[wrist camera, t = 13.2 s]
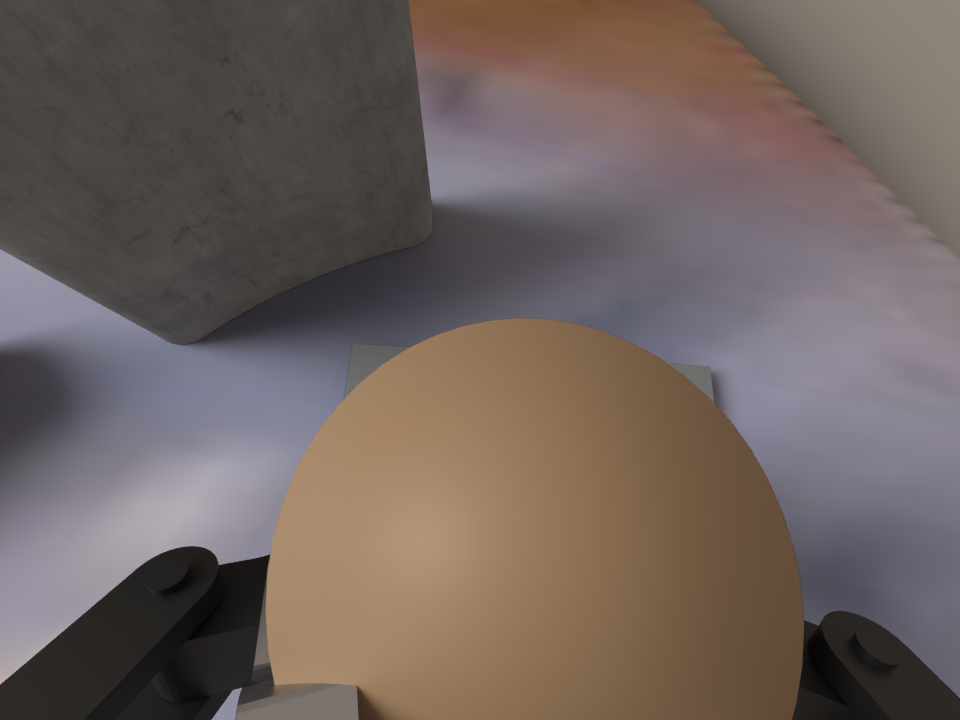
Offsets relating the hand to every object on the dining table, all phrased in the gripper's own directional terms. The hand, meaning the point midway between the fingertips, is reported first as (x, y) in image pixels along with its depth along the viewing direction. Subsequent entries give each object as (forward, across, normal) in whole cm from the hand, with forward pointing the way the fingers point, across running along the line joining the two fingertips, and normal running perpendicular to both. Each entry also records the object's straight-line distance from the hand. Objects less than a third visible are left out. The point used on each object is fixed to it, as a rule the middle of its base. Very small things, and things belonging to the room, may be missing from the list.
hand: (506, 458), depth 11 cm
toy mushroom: (+2, 0, +4) cm, 5 cm away
